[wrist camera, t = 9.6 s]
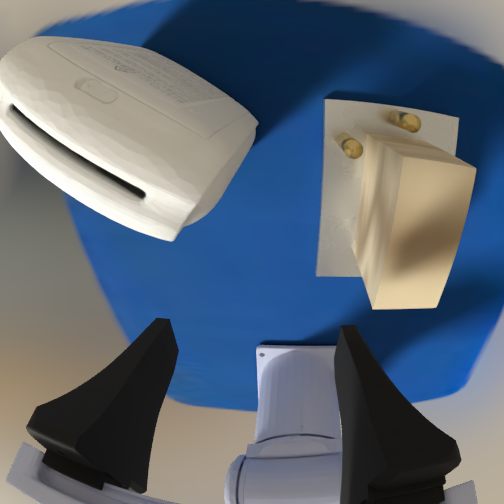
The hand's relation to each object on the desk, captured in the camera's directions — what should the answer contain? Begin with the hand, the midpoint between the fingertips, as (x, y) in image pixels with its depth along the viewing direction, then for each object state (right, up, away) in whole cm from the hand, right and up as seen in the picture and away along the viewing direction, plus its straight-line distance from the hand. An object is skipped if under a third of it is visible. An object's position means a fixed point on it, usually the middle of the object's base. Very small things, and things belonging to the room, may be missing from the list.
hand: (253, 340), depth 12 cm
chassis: (+9, +7, +6) cm, 13 cm away
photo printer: (-4, +13, +5) cm, 14 cm away
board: (+9, +7, +5) cm, 13 cm away
